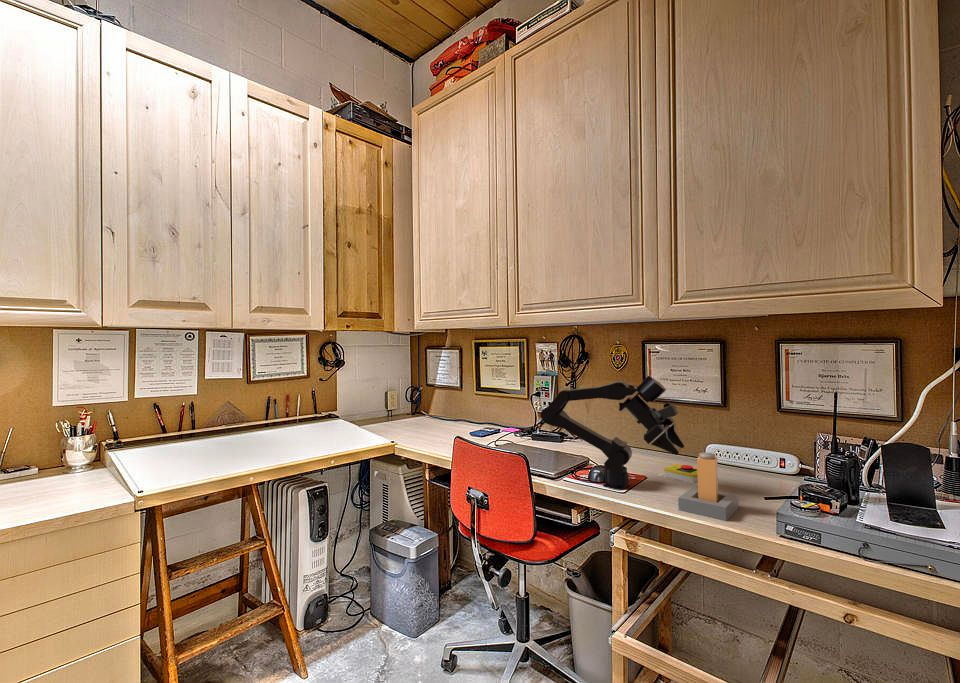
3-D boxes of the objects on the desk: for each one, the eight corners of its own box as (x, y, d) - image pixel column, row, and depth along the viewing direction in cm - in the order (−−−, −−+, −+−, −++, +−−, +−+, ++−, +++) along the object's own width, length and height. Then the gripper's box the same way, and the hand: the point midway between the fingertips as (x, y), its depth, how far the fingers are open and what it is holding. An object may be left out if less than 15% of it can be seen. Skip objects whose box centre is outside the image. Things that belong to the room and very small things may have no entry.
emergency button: (698, 472, 147) (656, 463, 159) (698, 486, 147) (656, 476, 159) (712, 467, 152) (670, 459, 164) (712, 480, 152) (671, 471, 164)
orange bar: (698, 505, 125) (697, 455, 125) (700, 500, 129) (699, 451, 129) (716, 508, 123) (715, 457, 123) (718, 503, 127) (717, 453, 127)
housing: (678, 510, 126) (678, 497, 126) (693, 498, 135) (693, 486, 135) (725, 521, 118) (725, 507, 118) (738, 507, 126) (738, 495, 126)
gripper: (653, 398, 133) (696, 439, 127) (666, 391, 148) (705, 428, 142) (627, 423, 137) (667, 464, 131) (642, 414, 153) (679, 450, 147)
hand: (680, 450), depth 138 cm, fingers open, 9 cm apart
